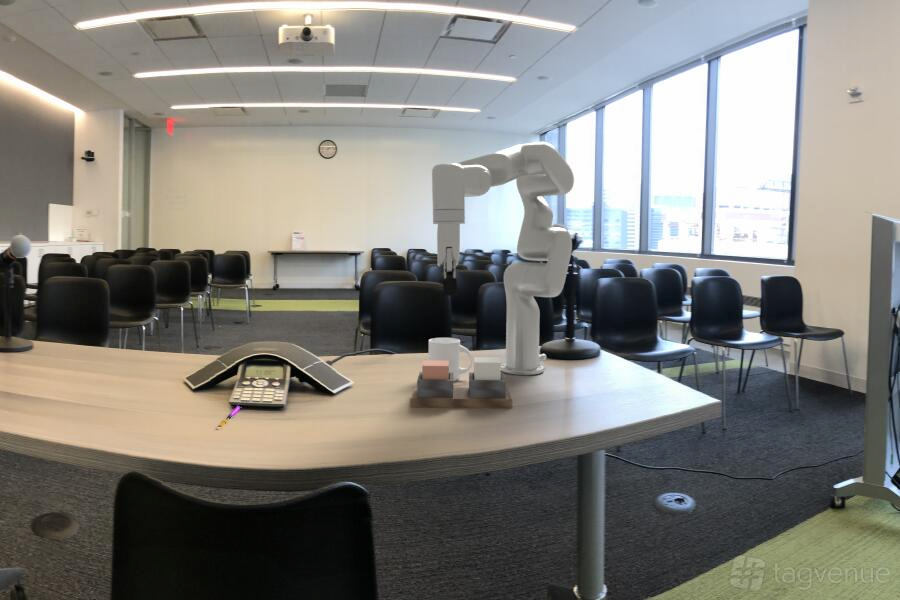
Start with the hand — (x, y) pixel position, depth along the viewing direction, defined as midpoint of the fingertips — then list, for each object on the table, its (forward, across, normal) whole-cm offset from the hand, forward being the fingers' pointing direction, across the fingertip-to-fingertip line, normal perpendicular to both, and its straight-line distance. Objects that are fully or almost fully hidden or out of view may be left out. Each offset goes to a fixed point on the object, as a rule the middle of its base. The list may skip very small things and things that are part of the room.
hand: (450, 294), depth 137 cm
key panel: (+25, +5, +2) cm, 25 cm away
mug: (+26, -16, -1) cm, 30 cm away
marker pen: (+24, +19, -46) cm, 56 cm away
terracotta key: (+22, +5, -4) cm, 22 cm away
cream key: (+21, +5, +8) cm, 23 cm away
